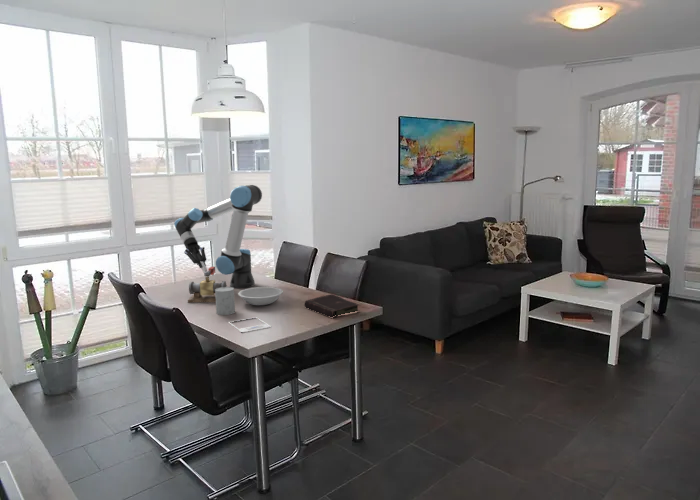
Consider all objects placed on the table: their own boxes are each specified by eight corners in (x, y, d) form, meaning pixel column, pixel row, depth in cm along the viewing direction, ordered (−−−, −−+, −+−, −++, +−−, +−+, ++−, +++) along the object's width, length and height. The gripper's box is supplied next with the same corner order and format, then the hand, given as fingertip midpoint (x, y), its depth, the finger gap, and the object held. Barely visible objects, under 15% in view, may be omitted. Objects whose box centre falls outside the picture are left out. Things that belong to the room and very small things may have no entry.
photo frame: (241, 331, 233) (228, 321, 248) (241, 334, 234) (228, 323, 249) (271, 326, 241) (256, 316, 256) (271, 328, 241) (256, 318, 256)
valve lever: (215, 272, 302) (215, 266, 302) (209, 278, 287) (208, 272, 286) (210, 272, 302) (210, 266, 301) (203, 278, 287) (203, 272, 286)
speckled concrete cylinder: (238, 310, 269) (237, 287, 267) (228, 315, 260) (227, 292, 258) (222, 308, 272) (221, 286, 270) (212, 314, 263) (211, 290, 261)
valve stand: (228, 296, 296) (227, 274, 294) (224, 302, 285) (223, 279, 283) (193, 297, 296) (192, 275, 293) (187, 302, 285) (186, 279, 283)
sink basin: (291, 301, 286) (291, 289, 285) (265, 312, 265) (264, 300, 264) (257, 296, 297) (256, 285, 296) (229, 306, 276) (228, 294, 275)
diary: (332, 320, 253) (331, 310, 252) (304, 309, 273) (304, 300, 272) (361, 312, 264) (361, 303, 263) (333, 302, 284) (332, 293, 283)
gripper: (197, 243, 318) (213, 273, 310) (177, 245, 309) (193, 277, 300) (201, 235, 314) (217, 266, 305) (181, 237, 304) (197, 269, 296)
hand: (205, 271), depth 303 cm, fingers closed
